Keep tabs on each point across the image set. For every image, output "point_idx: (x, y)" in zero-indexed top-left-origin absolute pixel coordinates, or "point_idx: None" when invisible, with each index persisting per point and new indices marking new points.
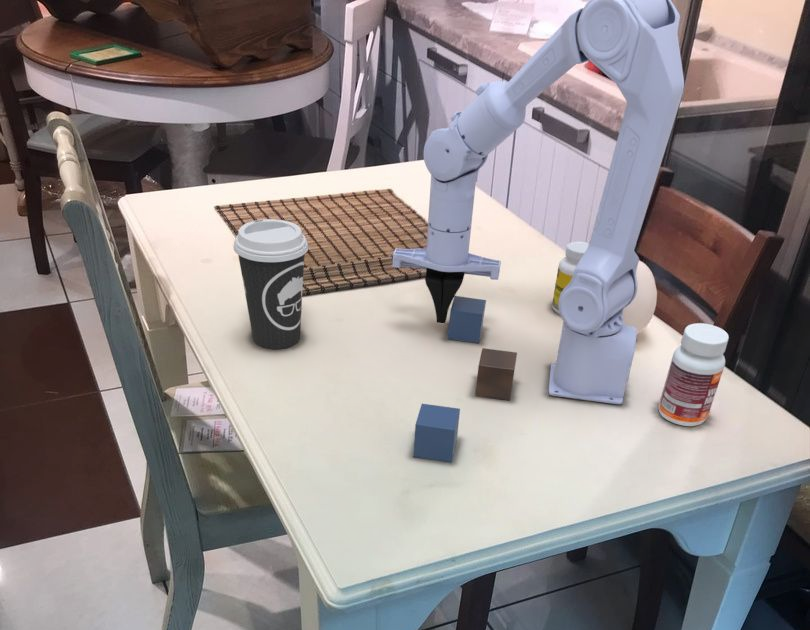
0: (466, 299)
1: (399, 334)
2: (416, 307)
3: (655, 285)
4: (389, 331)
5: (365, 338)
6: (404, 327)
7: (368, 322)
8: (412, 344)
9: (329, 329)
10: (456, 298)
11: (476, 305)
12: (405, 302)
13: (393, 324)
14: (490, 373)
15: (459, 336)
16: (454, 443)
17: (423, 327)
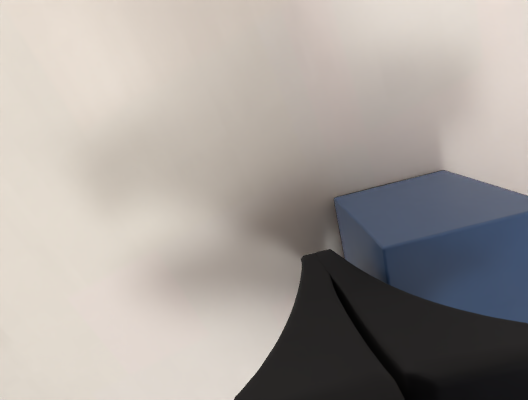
0: (452, 255)
1: (203, 328)
2: (154, 126)
3: None
4: (167, 326)
5: (131, 387)
6: (195, 284)
7: (77, 309)
8: (264, 357)
9: (12, 393)
10: (400, 274)
11: (512, 287)
12: (92, 106)
13: (153, 284)
14: None
15: None
16: None
17: (250, 256)
